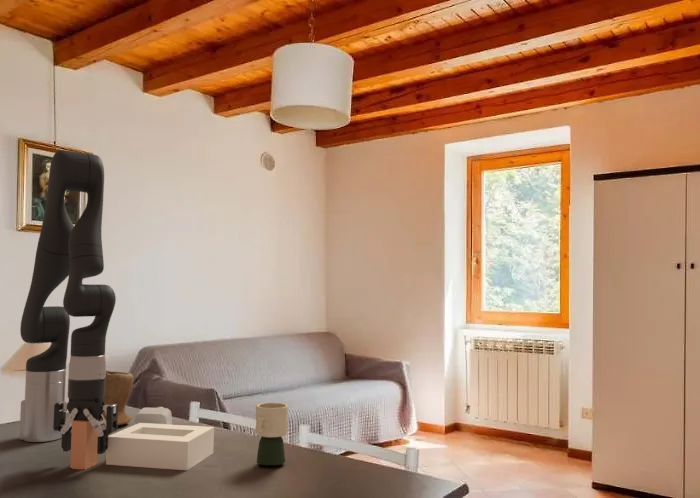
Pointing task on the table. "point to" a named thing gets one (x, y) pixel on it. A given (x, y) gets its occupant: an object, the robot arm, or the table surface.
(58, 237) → the robot arm
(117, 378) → the brown boot-shaped piece
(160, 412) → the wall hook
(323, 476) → the table surface
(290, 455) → the table surface
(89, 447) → the orange block
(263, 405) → the character mug
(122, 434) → the well block
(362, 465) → the table surface
